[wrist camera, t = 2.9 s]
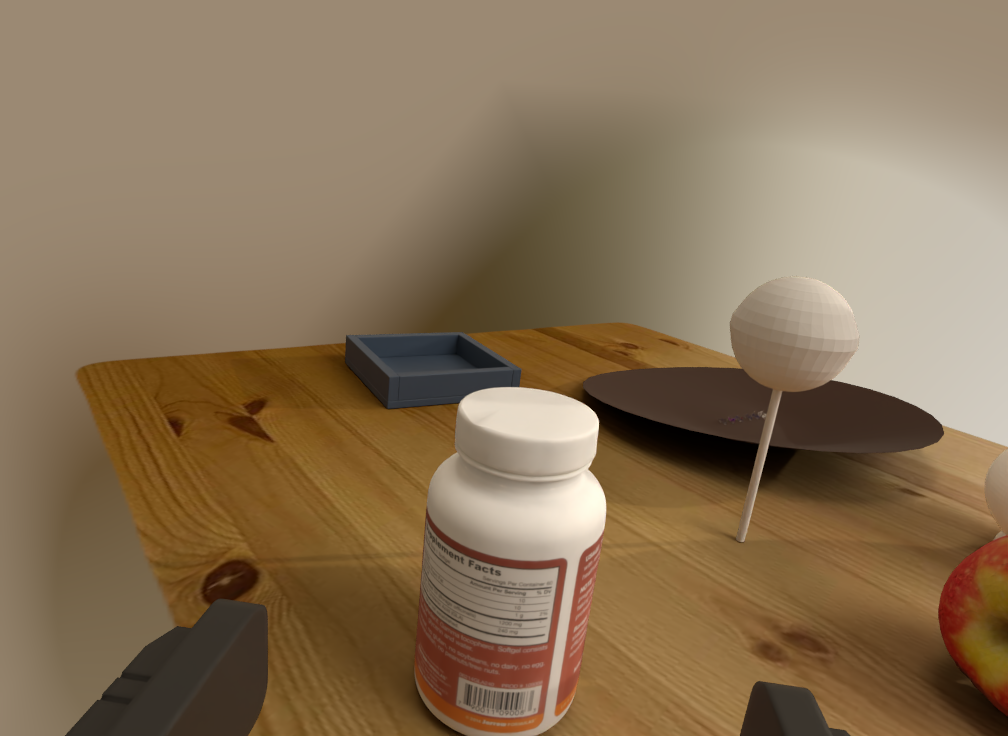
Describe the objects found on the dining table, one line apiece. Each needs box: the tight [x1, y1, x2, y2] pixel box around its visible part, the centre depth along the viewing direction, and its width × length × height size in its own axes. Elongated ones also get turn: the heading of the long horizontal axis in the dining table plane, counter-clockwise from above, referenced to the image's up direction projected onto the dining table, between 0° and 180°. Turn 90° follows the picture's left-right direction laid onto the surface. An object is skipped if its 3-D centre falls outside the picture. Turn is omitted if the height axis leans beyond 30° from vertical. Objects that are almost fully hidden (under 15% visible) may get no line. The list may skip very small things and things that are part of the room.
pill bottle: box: [415, 387, 606, 736], centre depth 23 cm, size 6×6×11 cm
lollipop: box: [730, 276, 860, 542], centre depth 34 cm, size 6×6×15 cm
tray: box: [345, 332, 521, 409], centre depth 57 cm, size 12×12×3 cm
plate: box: [583, 367, 944, 453], centre depth 55 cm, size 28×28×4 cm
